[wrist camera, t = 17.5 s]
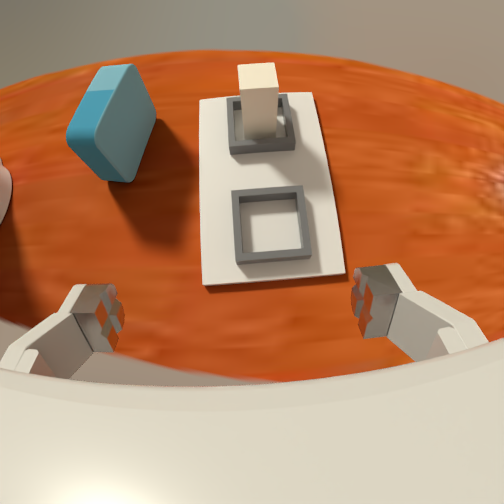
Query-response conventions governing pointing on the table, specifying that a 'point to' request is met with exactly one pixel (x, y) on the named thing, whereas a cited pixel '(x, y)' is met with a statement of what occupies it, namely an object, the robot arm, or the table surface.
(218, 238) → the dock
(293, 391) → the robot arm
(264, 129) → the plug block
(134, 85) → the data package
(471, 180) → the table surface
